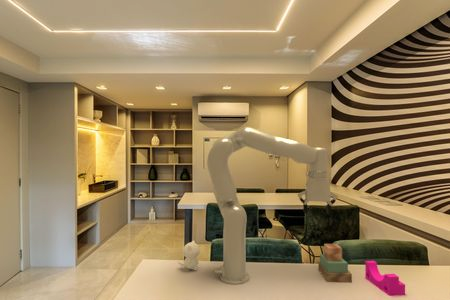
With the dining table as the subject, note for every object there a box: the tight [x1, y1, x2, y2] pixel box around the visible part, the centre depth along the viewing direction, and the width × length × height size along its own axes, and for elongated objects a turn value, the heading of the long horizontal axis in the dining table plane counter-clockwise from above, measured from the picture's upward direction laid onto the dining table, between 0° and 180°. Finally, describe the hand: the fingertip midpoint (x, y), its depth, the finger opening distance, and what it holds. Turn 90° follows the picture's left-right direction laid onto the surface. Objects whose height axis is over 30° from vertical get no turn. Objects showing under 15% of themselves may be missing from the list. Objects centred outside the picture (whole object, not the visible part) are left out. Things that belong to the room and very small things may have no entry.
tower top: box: [319, 253, 349, 273], centre depth 120 cm, size 8×10×4 cm
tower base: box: [317, 261, 353, 284], centre depth 120 cm, size 10×12×4 cm
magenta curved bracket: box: [364, 260, 406, 297], centre depth 111 cm, size 15×6×8 cm, turn 5°
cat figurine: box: [176, 240, 201, 271], centre depth 128 cm, size 9×11×12 cm
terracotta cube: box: [323, 243, 343, 261], centre depth 120 cm, size 6×6×6 cm
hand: (316, 213), depth 123 cm, fingers open, 9 cm apart
